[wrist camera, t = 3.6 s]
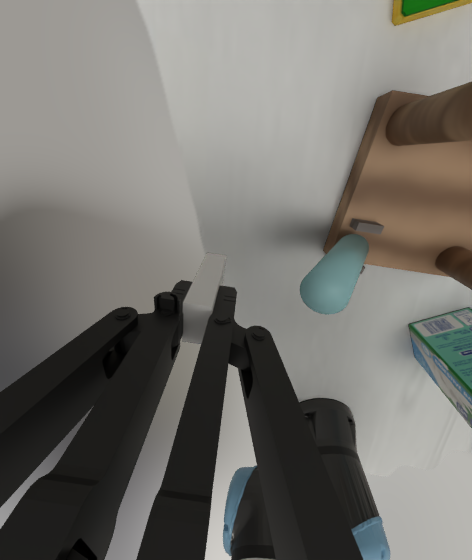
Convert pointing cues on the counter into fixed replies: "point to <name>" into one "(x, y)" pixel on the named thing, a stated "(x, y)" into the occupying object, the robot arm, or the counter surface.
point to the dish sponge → (421, 8)
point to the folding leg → (335, 276)
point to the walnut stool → (413, 185)
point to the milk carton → (447, 355)
